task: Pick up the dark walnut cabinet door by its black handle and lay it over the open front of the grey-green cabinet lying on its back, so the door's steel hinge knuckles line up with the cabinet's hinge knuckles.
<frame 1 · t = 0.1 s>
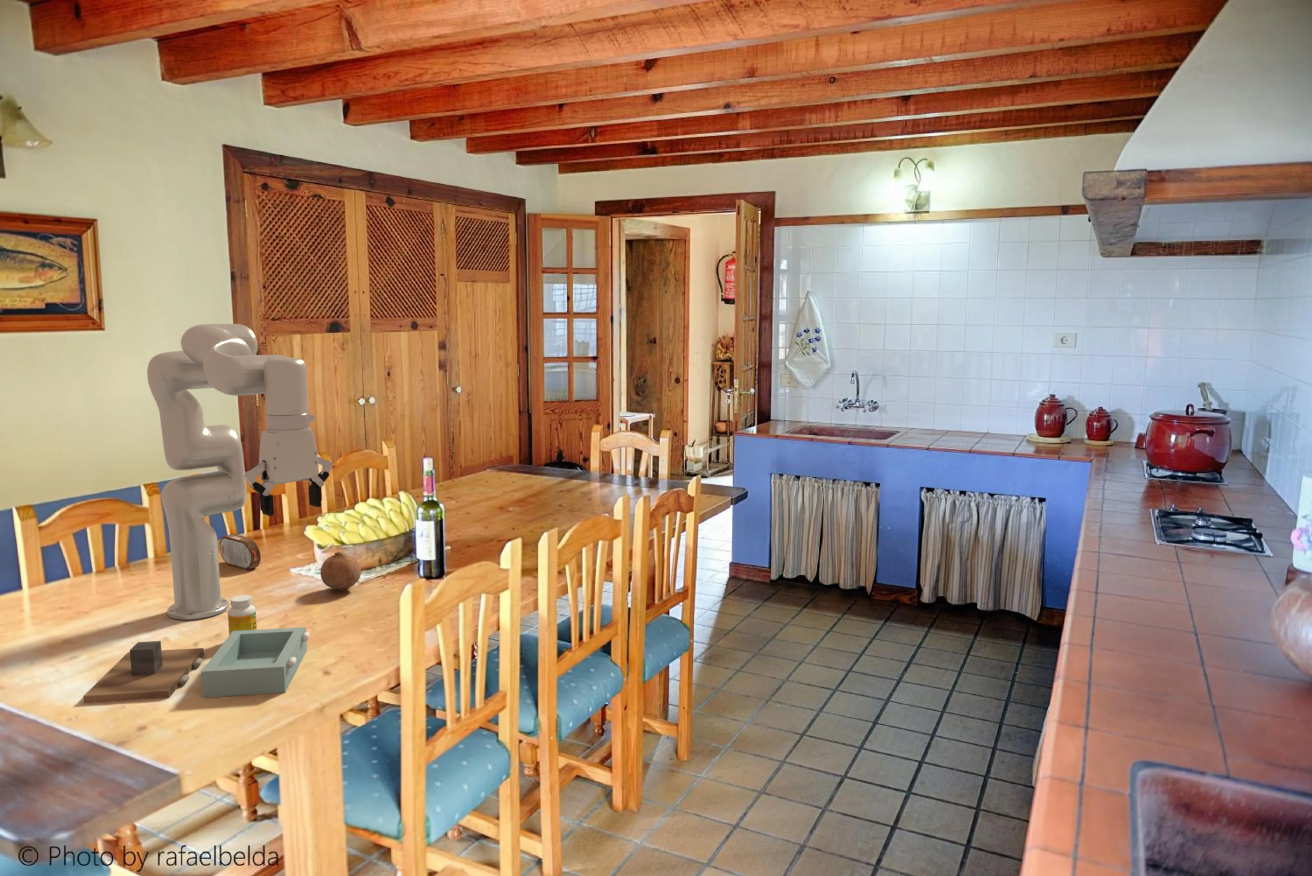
hand: (292, 510, 169), 31 cm above the table, tool pointing down, fingers open, 9 cm apart
door: (147, 677, 167), on the table
supplement bottle: (243, 642, 185), on the table
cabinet: (258, 672, 169), on the table
onion: (341, 591, 218), on the table
tin: (240, 567, 236), on the table
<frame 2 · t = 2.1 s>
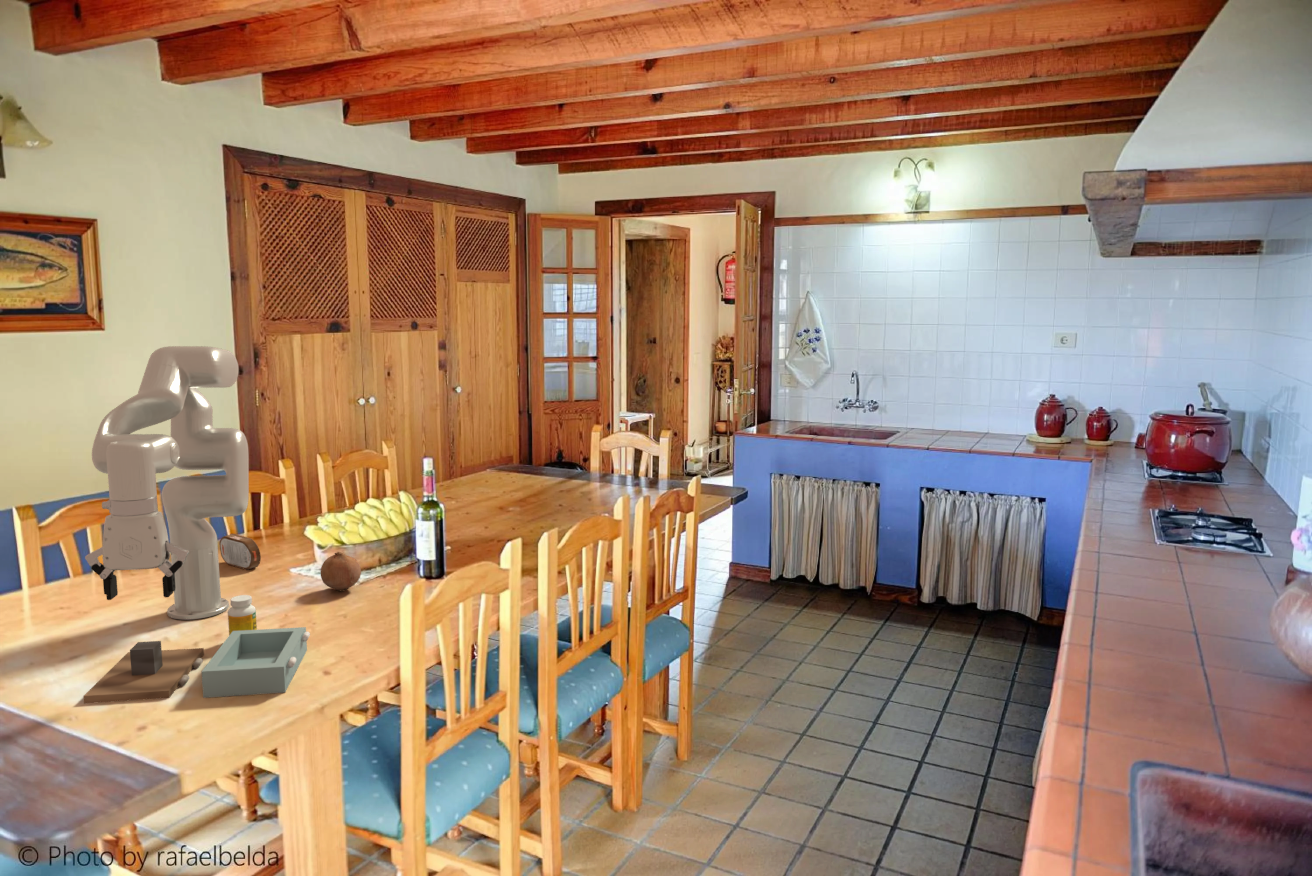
hand: (140, 596, 164), 16 cm above the table, tool pointing down, fingers open, 9 cm apart
nothing on the table moved.
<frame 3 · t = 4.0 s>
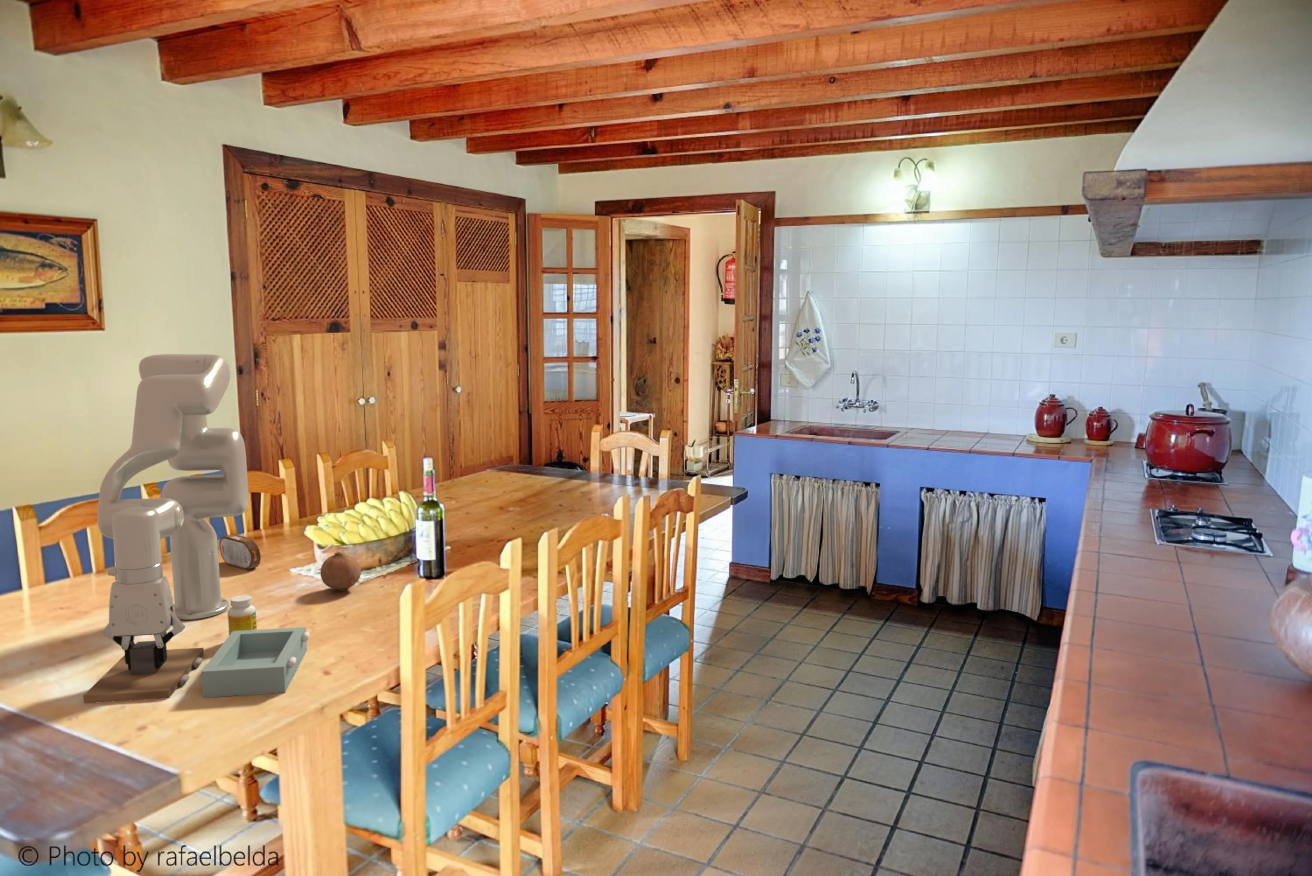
hand: (146, 665, 166), 2 cm above the table, tool pointing down, fingers closed on door, 4 cm apart
door: (147, 677, 167), on the table, touching gripper
everything else where it was.
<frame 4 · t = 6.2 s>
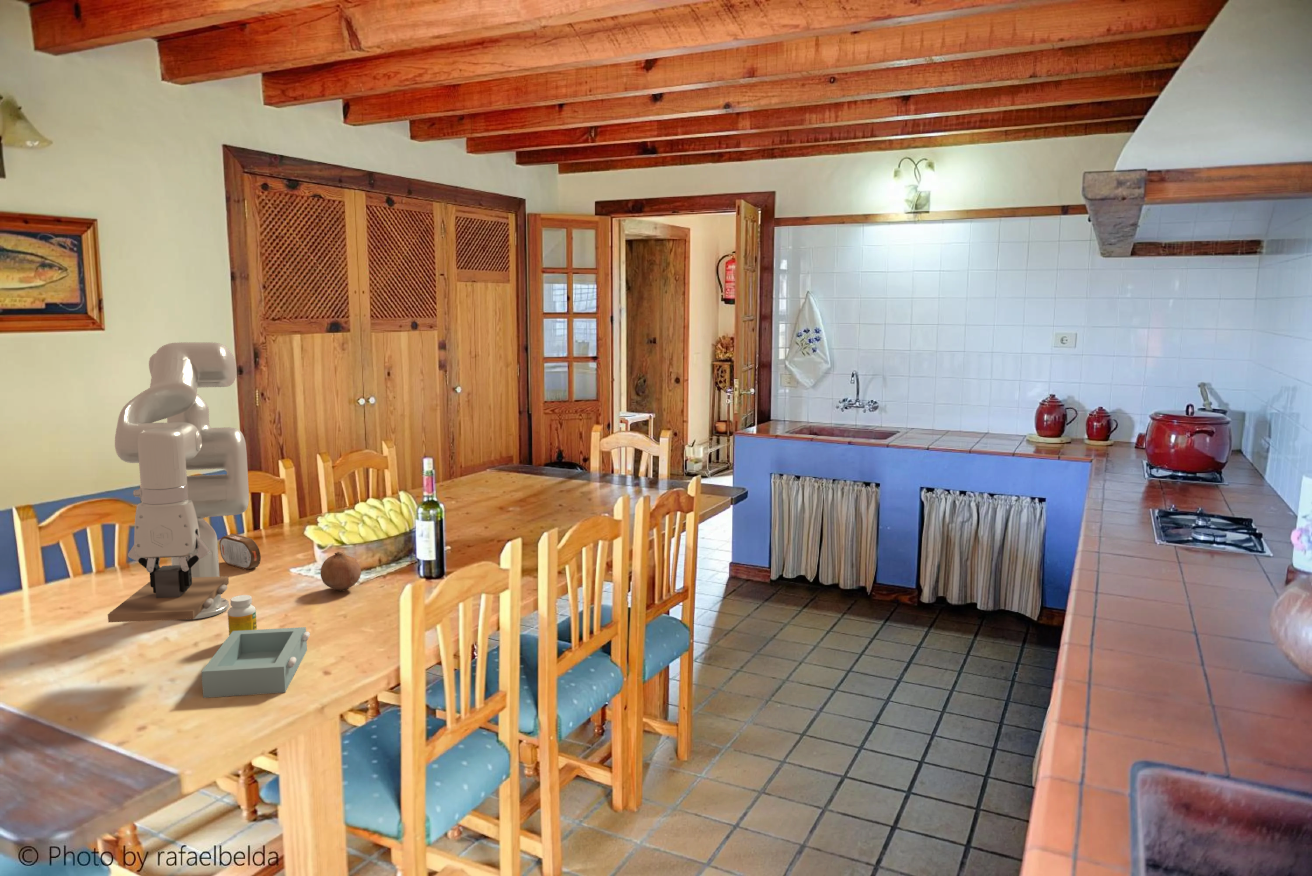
hand: (171, 589, 165), 17 cm above the table, tool pointing down, fingers closed on door, 4 cm apart
door: (172, 601, 165), point 15 cm above the table, touching gripper
everything else where it was.
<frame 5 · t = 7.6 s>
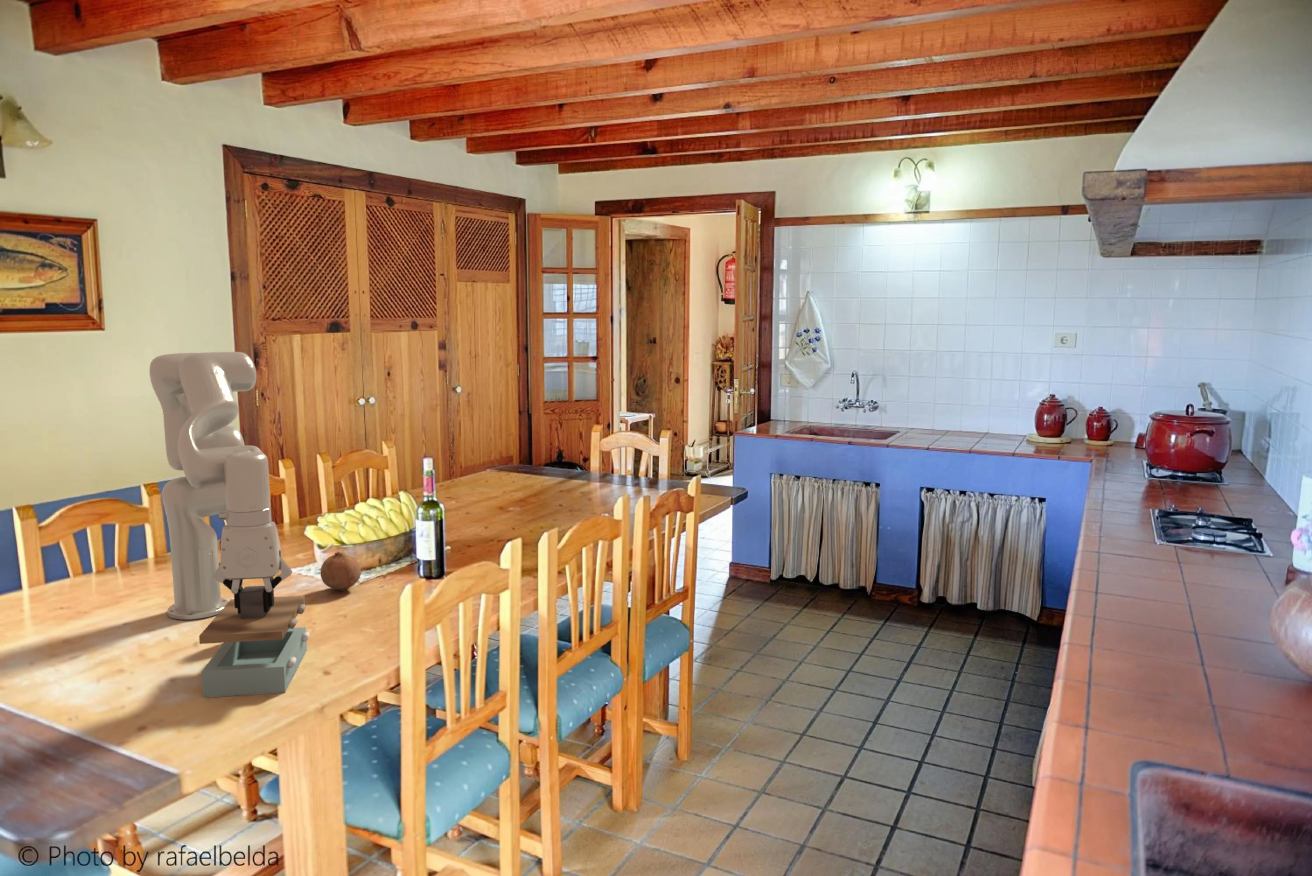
hand: (254, 609, 167), 13 cm above the table, tool pointing down, fingers closed on door, 4 cm apart
door: (255, 622, 168), point 10 cm above the table, touching gripper
everything else where it was.
when the fingers open (9 cm above the table, at t = 8.8 s): door drops 1 cm, resting on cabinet.
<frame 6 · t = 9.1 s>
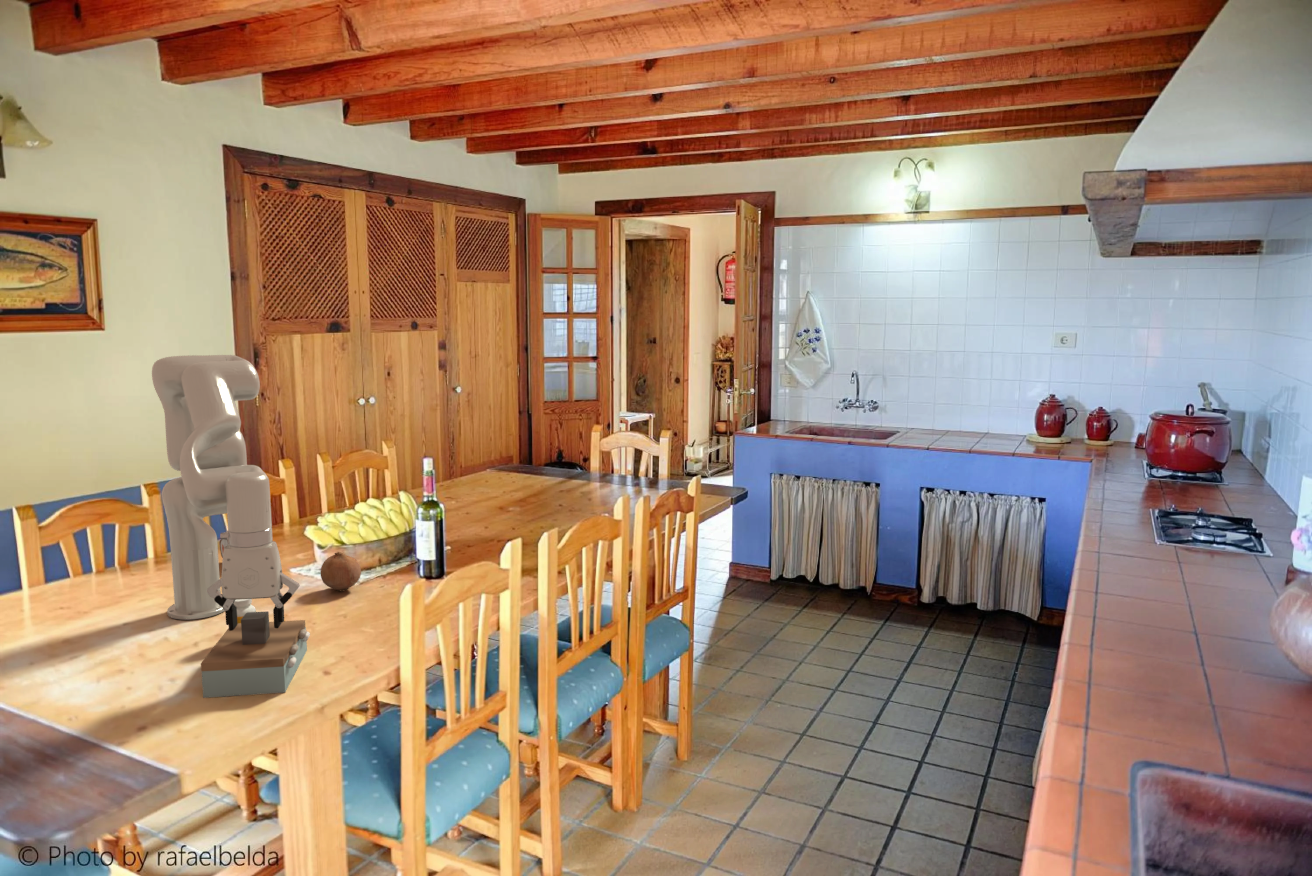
hand: (255, 626, 168), 9 cm above the table, tool pointing down, fingers open, 7 cm apart
door: (256, 647, 169), point 5 cm above the table, touching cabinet
everything else where it was.
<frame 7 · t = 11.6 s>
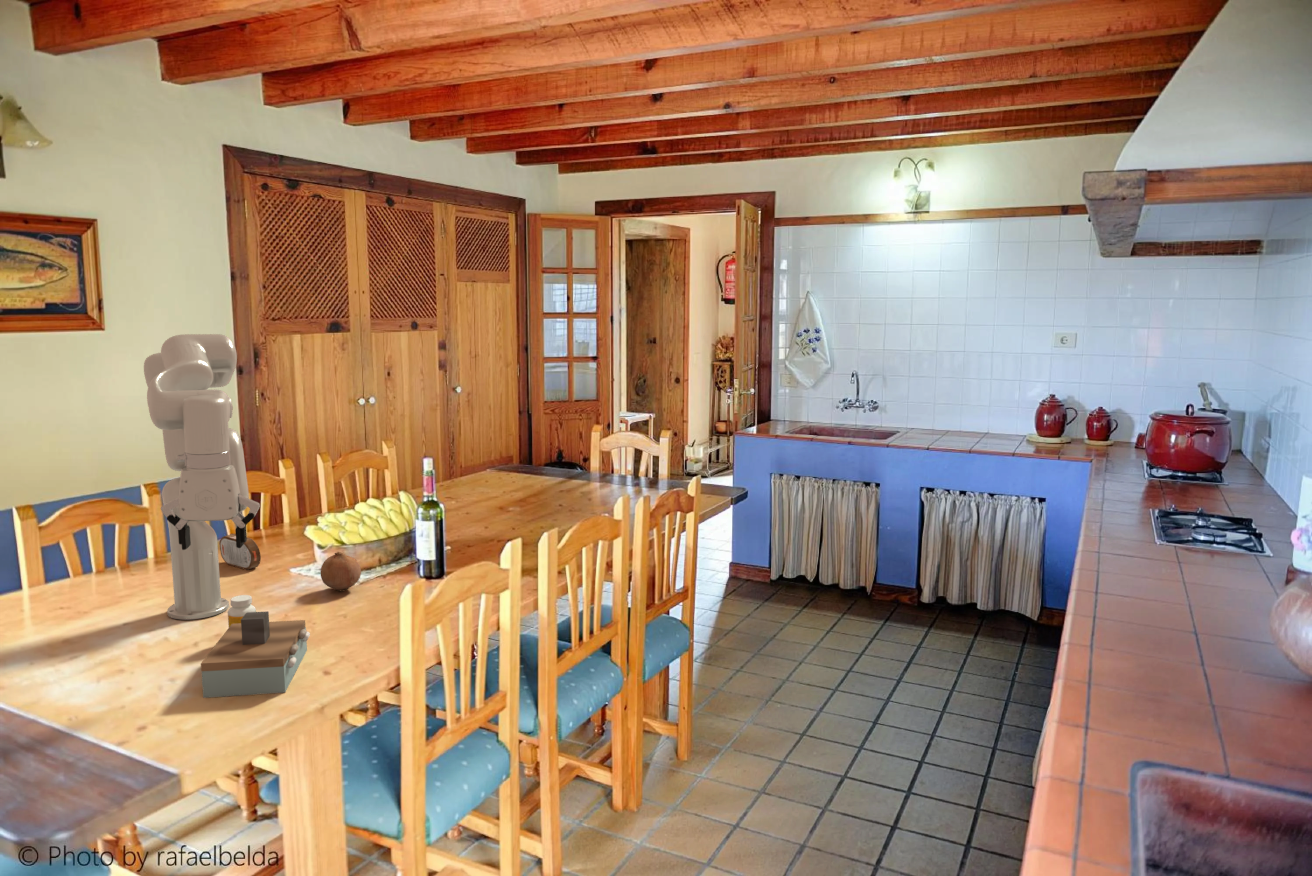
hand: (213, 546, 169), 24 cm above the table, tool pointing down, fingers open, 9 cm apart
nothing on the table moved.
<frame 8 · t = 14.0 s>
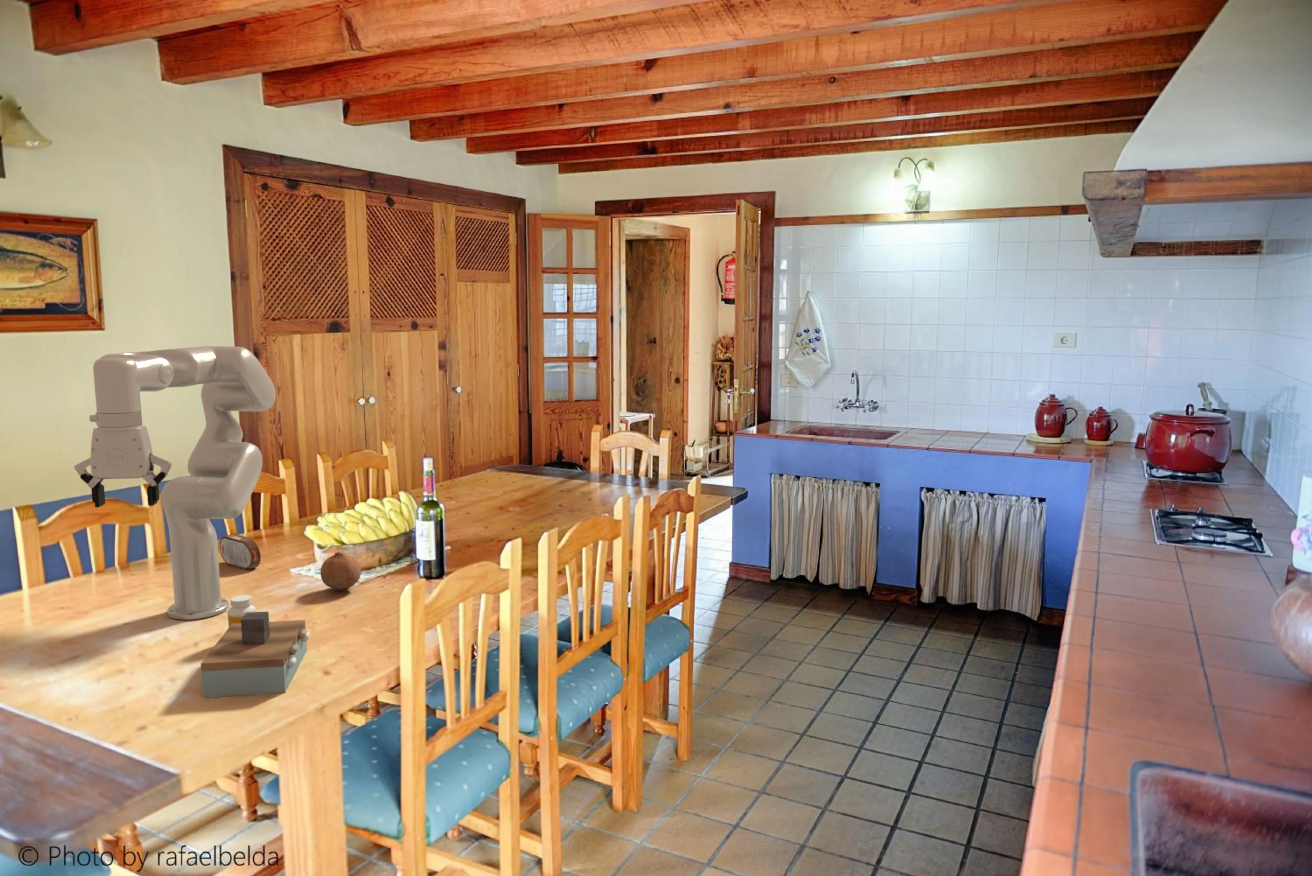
hand: (126, 505, 175), 30 cm above the table, tool pointing down, fingers open, 9 cm apart
nothing on the table moved.
at the end: door 0.1 cm off-centre on the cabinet, point 5.0 cm above the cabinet's base; door tilted 0°; the gripper is holding nothing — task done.
